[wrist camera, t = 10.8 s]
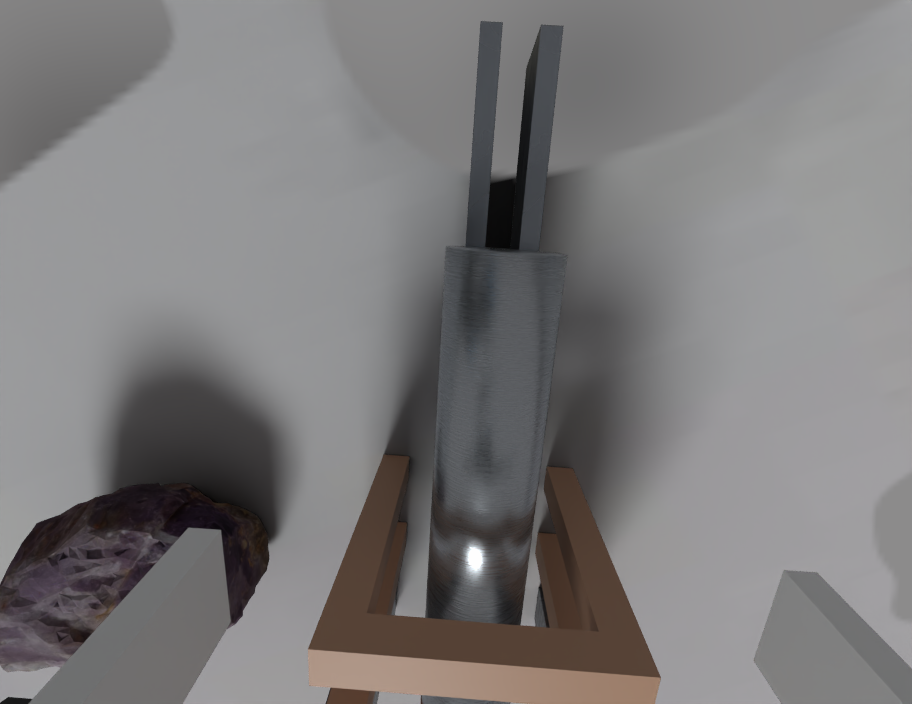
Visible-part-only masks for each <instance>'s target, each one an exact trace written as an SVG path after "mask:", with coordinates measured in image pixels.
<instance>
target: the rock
mask: <svg viewBox="0 0 912 704" xmlns="http://www.w3.org/2000/svg"><path fill="white" fill-rule="evenodd" d="M188 528H201V529H215V530H221V535H222V544H223V554H224V563H225V572H226V582H227V591H228V600H229V610H230V619H231V622H230V624H229V626H228V627H227V629H228V628H230V627H231V626H233V625H235V624H236V623H237V621H238V620H239V619H240V618H241V617H242V616H243V610H244V608H245V606H246V605H247V603H248V601H249V600H250V598H251V597H252V596H253V594H254V593H255V587H256V585H257V584H258V582H259V581H260V579H261V577H262V576H263V574H264V573H265V572H266V570H267V566H268V562H269V551H268V536H267V533H266V531H265V529H264V527H263V525H262V522H261V521H260V519H259V518H258V516H256V515H255V514H253V513H251V512H250V511H248V510H245V509H243V508H241V507H239V506H234V505H231V504H229V503H214V502H212V501H211V499H210V498H208V497H206V496H204V495H203V494H202V493H201V492H200V491H199V490H198V489H196V488H195V487H193V486H191V485H190V484H187V483H178V484H169V485H164V486H160V484H159V483H156V484H140V485H133V486H129V487H125V488H121V489H119V490H117V491H116V492H114V493H112V494H108V495H103V496H99V497H95V498H94V499H92V500H90V501H87V502H84V503H80V504H77V505H75V506H74V507H72V508H70V509H69V510H67V511H65V512H64V513H62V514H61V515H58V516H55V517H52V518H49V519H47V520H44V521H41V522H39V523H37V524H36V525H35V527H34V528H33V530H32V531H31V532H30V534H29V535H28V536H27V537H26V539H25V540H24V541H23V543H22V544H21V546H20V548H19V550H18V551H17V553H16V555H15V557H14V559H13V560H12V562H11V563H10V565H9V567H8V569H7V571H6V573H5V575H4V578H3V580H2V582H1V584H0V665H1V667H2V668H3V670H5V671H7V672H13V671H37V670H39V669H42V668H47V667H53V666H57V667H60V668H61V667H62V666H63V665H64V664H65V663H66V662H67V661H68V660H69V659H70V657H71V656H72V655H73V654H74V653H75V652H76V651H77V650H78V649H79V648H80V646H81V645H82V644H83V643H84V642H85V641H86V640H87V639H88V638H89V637H90V635H91V634H92V633H93V632H94V631H95V630H96V629H97V628H98V627H99V626H100V624H101V623H102V622H103V621H104V620H105V619H106V618H107V617H108V616H109V615H110V613H111V612H112V611H113V610H114V609H115V608H116V607H117V606H118V605H119V604H120V602H121V601H122V600H123V599H124V598H125V597H126V596H127V595H128V594H129V593H130V591H131V590H132V589H133V588H134V587H135V586H136V585H137V584H138V583H139V582H140V580H141V579H142V578H143V577H144V576H145V575H146V574H147V573H148V572H149V571H150V569H151V568H152V567H153V566H154V565H155V564H156V563H157V562H158V561H159V560H160V558H161V557H162V556H163V555H164V554H165V553H166V552H167V551H168V550H169V549H170V547H171V546H172V545H173V544H174V543H175V542H176V541H177V540H178V539H179V538H180V536H181V535H182V534H183V533H184V532H185V531H186V530H187V529H188Z"/></svg>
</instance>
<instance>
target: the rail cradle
mask: <svg viewBox="0 0 912 704" xmlns="http://www.w3.org/2000/svg"><path fill="white" fill-rule="evenodd" d="M502 25H503V23H501V22H484V21H481V24H480V40H479V54H478V69H477V84H476V99H475V114H474V129H473V143H472V158H471V173H470V188H469V203H468V218H467V233H466V246H467V247H485V242H486V229H487V217H488V204H489V191H490V178H491V165H492V152H493V140H494V139H493V138H494V127H495V114H496V101H497V88H498V76H499V63H500V50H501V37H502ZM562 34H563V26H552V25H541V27H540V30H539V33H538V36H537V39H536V42H535V45H534V48H533V51H532V53H531V57H530V59H529V62H528V65H527V69H526V79H525V90H524V101H523V112H522V122H521V133H520V144H519V155H518V165H517V176H516V187H515V198H514V209H513V219H512V230H511V241H510V249H519V250H531V251H539V243H540V234H541V225H542V216H543V207H544V198H545V189H546V180H547V171H548V161H549V152H550V143H551V134H552V125H553V116H554V107H555V98H556V89H557V79H558V70H559V61H560V52H561V43H562Z"/></svg>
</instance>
